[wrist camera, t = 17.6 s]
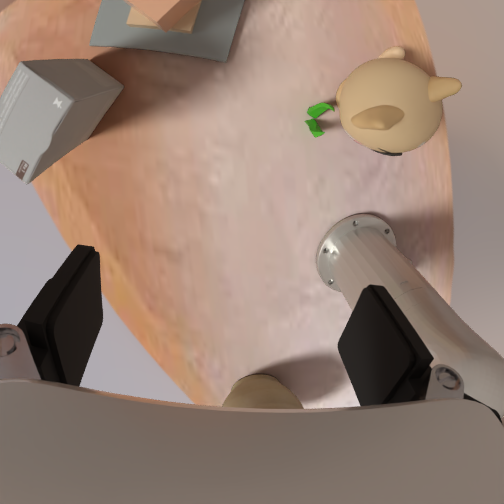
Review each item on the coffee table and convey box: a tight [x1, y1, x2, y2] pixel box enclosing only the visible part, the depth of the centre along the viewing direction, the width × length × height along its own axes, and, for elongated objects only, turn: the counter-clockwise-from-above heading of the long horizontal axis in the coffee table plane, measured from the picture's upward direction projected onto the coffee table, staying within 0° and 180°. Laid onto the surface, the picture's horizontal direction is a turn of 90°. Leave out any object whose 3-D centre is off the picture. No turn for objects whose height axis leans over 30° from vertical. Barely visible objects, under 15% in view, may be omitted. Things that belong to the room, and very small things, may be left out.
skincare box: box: [0, 59, 124, 184], centre depth 24 cm, size 8×7×16 cm
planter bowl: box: [222, 374, 304, 409], centre depth 53 cm, size 16×16×11 cm
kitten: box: [305, 46, 462, 156], centre depth 28 cm, size 15×10×15 cm
